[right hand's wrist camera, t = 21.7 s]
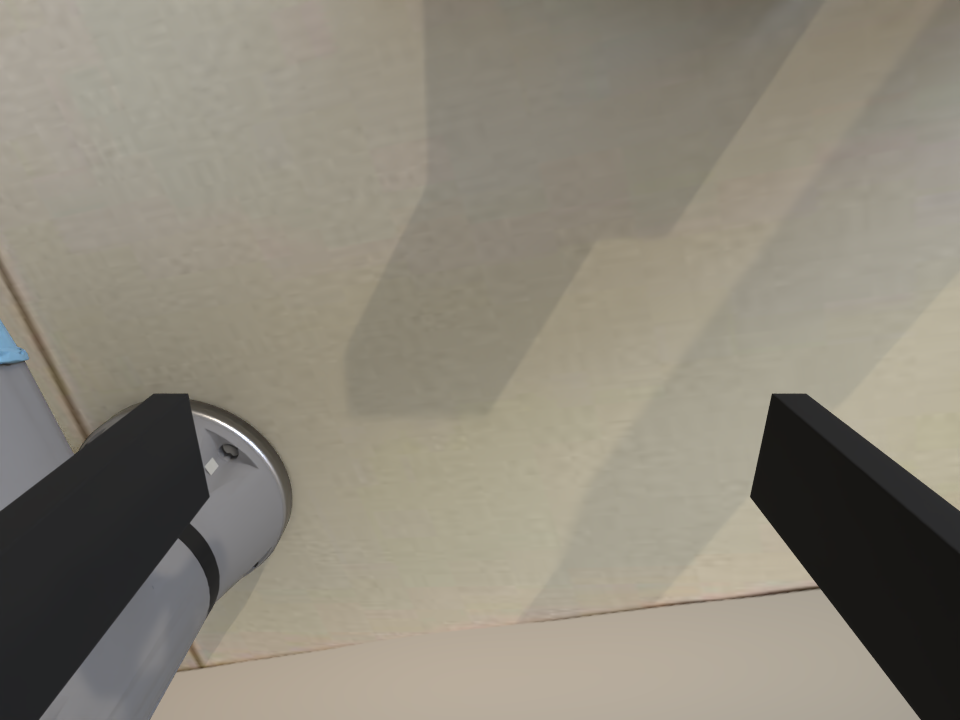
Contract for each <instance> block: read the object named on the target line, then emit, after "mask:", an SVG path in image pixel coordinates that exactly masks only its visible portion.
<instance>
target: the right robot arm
mask: <svg viewBox="0 0 960 720" xmlns="http://www.w3.org/2000/svg"><path fill="white" fill-rule="evenodd" d="M28 359H29V357H28V354H27V352H26V351H25V350H24V349H22V348H19V347H17V346H16V344H15V342H14V341H13V339H12V337H11V336H10V334H9V333H8V331H7V329H6V328H5V326H4V325H3V323H2V321H1V320H0V720H150V719H151V717H152V715H153V713H154V711H155V710H156V708H157V706H158V704H159V702H160V700H161V699H162V697H163V695H164V693H165V691H166V690H167V688H168V686H169V684H170V682H171V681H172V679H173V677H174V675H175V673H176V672H177V670H178V668H179V666H180V664H181V663H182V661H183V659H184V657H185V655H186V654H187V652H188V650H189V648H190V646H191V645H192V643H193V641H194V639H195V637H196V636H197V634H198V632H199V630H200V628H201V627H202V625H203V623H204V621H205V619H206V618H207V616H208V614H209V613H210V611H211V609H212V607H213V605H214V604H215V602H216V601H217V600H218V599H219V598H221V597H222V596H223V595H224V594H225V593H226V592H227V591H228V590H229V589H230V588H231V587H232V586H233V585H234V584H235V583H237V582H238V581H239V580H240V579H241V578H242V577H244V576H246V575H247V574H249V573H250V572H252V571H253V570H254V569H255V568H257V567H258V566H259V565H260V564H262V563H263V562H264V561H265V560H266V559H267V558H268V557H269V556H270V554H271V553H272V552H273V550H274V549H275V547H276V545H277V544H278V542H279V540H280V538H281V536H282V534H283V532H284V530H285V528H286V526H287V523H288V521H289V517H290V514H291V508H292V490H291V485H290V480H289V477H288V474H287V471H286V469H285V467H284V464H283V462H282V461H281V459H280V457H279V455H278V454H277V453H276V451H275V450H274V448H273V447H272V446H271V445H270V443H269V442H268V441H267V440H266V439H265V438H264V437H263V436H262V435H261V434H260V433H259V432H258V431H257V430H255V429H254V428H253V427H252V426H250V425H249V424H248V423H246V422H245V421H243V420H242V419H240V418H238V417H237V416H235V415H233V414H231V413H229V412H227V411H225V410H223V409H220V408H218V407H215V406H213V405H209V404H206V403H203V402H198V401H194V400H189V396H188V394H153V395H152V396H150V397H149V398H148V399H146V400H145V401H144V402H141V403H138V404H135V405H132V406H130V407H128V408H126V409H124V410H122V411H121V412H119V413H117V414H116V415H115V416H113V417H112V418H110V419H109V420H108V421H106V422H105V423H104V424H102V425H101V426H100V427H98V428H97V429H96V430H95V431H94V432H92V434H91V435H90V436H89V437H88V438H87V439H86V440H85V442H84V443H83V444H82V446H81V448H80V449H79V451H78V452H77V453H76V454H74V453H73V451H72V449H71V448H70V446H69V444H68V442H67V440H66V438H65V436H64V434H63V432H62V431H61V429H60V427H59V425H58V423H57V421H56V419H55V417H54V416H53V414H52V412H51V410H50V408H49V406H48V404H47V402H46V400H45V399H44V397H43V395H42V393H41V391H40V389H39V387H38V385H37V383H36V382H35V380H34V378H33V376H32V374H31V372H30V370H29V368H28V366H27V365H26V363H25V361H24V360H28ZM750 497H751V499H752V500H753V501H754V503H755V504H756V505H757V507H758V508H759V509H760V510H761V512H762V513H763V514H764V516H765V517H766V518H767V520H768V521H769V522H770V523H771V525H772V526H773V527H774V529H775V530H776V531H777V533H778V534H779V535H780V537H781V538H782V539H783V540H784V542H785V543H786V544H787V546H788V547H789V548H790V550H791V551H792V552H793V553H794V555H795V556H796V557H797V559H798V560H799V561H800V563H801V564H802V565H803V567H804V568H805V569H806V570H807V572H808V573H809V574H810V576H811V577H812V578H813V580H814V581H815V582H816V583H817V585H818V586H819V587H820V589H821V590H822V591H823V593H824V594H825V595H826V596H827V598H828V599H829V600H830V602H831V603H832V604H833V606H834V607H835V608H836V610H837V611H838V612H839V614H840V615H841V616H842V617H843V619H844V620H845V621H846V623H847V624H848V625H849V627H850V628H851V629H852V630H853V632H854V633H855V634H856V636H857V637H858V638H859V640H860V641H861V642H862V644H863V645H864V646H865V647H866V649H867V650H868V651H869V653H870V654H871V655H872V657H873V658H874V659H875V660H876V662H877V663H878V664H879V666H880V667H881V668H882V670H883V671H884V672H885V674H886V675H887V676H888V677H889V679H890V680H891V681H892V683H893V684H894V685H895V687H896V688H897V689H898V691H899V692H900V693H901V694H902V696H903V697H904V698H905V700H906V701H907V702H908V704H909V705H910V706H911V707H912V709H913V710H914V711H915V713H916V714H917V715H918V717H919V718H920V719H921V720H960V511H959V510H958V509H956V508H955V507H954V506H952V505H951V504H950V503H948V502H947V501H946V500H944V499H943V498H942V497H941V496H939V495H938V494H937V493H935V492H934V491H933V490H931V489H930V488H929V487H927V486H926V485H925V484H924V483H922V482H921V481H920V480H918V479H917V478H916V477H914V476H913V475H912V474H910V473H909V472H908V471H907V470H905V469H904V468H903V467H901V466H900V465H899V464H897V463H896V462H895V461H893V460H892V459H891V458H890V457H888V456H887V455H886V454H884V453H883V452H882V451H880V450H879V449H878V448H876V447H875V446H874V445H873V444H871V443H870V442H869V441H867V440H866V439H865V438H863V437H862V436H861V435H859V434H858V433H857V432H856V431H854V430H853V429H852V428H850V427H849V426H848V425H846V424H845V423H844V422H842V421H841V420H840V419H839V418H837V417H836V416H835V415H833V414H832V413H831V412H829V411H828V410H827V409H825V408H824V407H823V406H822V405H820V404H819V403H818V402H816V401H815V400H814V399H812V398H811V397H810V396H808V395H807V394H772V396H771V401H770V406H769V410H768V415H767V420H766V425H765V429H764V434H763V439H762V443H761V448H760V453H759V457H758V462H757V467H756V472H755V476H754V481H753V486H752V490H751V495H750Z"/></svg>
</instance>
